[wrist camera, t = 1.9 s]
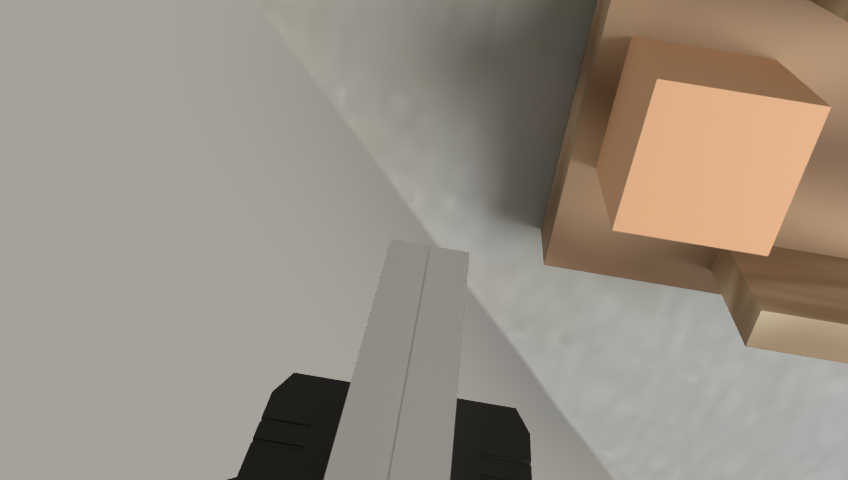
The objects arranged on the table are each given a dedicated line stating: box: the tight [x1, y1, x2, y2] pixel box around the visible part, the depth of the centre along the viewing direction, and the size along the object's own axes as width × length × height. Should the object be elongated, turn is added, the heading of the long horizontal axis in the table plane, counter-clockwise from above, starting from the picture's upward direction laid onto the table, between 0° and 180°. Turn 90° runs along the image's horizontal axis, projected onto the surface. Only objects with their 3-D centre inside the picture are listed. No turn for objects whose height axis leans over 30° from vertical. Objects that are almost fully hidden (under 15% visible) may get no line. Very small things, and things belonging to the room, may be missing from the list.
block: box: [596, 36, 831, 256], centre depth 25 cm, size 5×5×5 cm
